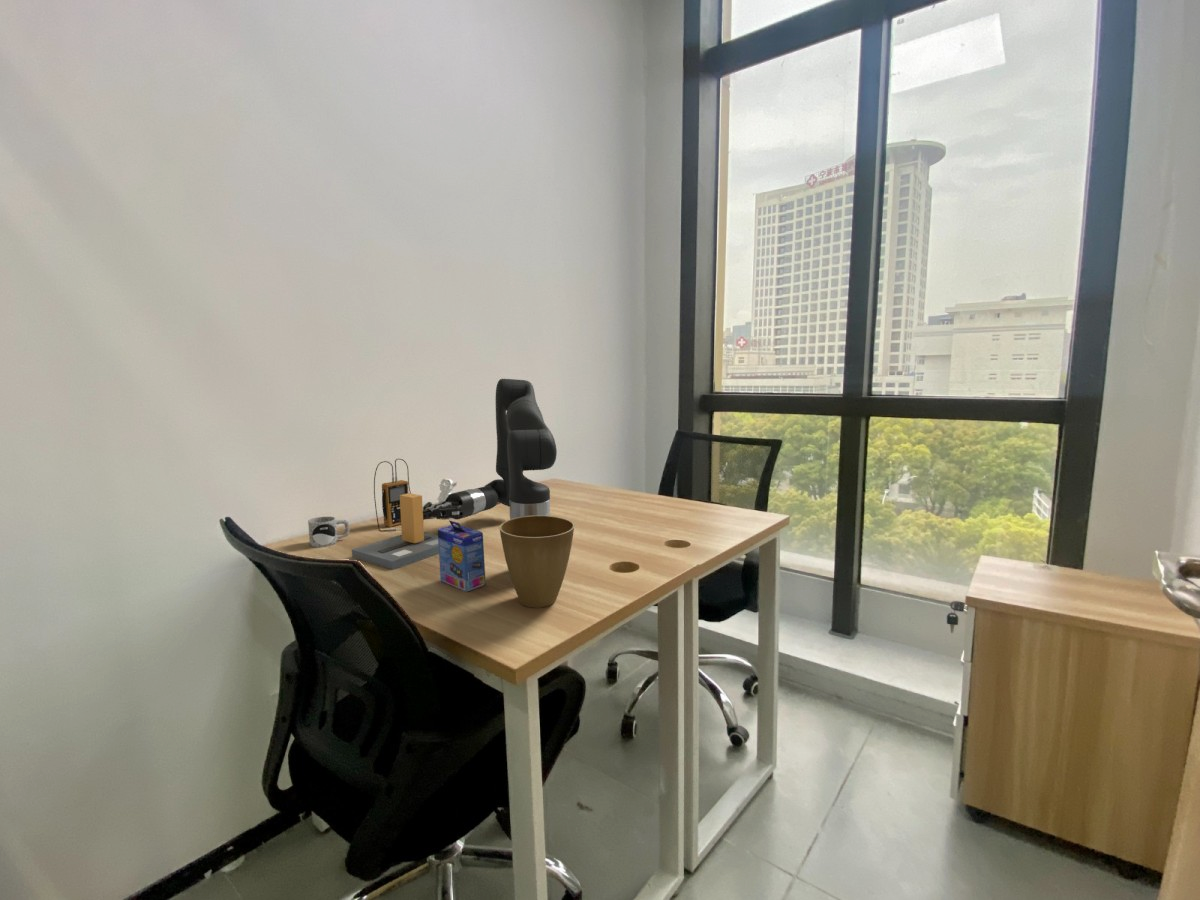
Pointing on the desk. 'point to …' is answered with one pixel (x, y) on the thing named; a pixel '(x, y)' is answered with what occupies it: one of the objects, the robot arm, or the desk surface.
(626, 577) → the desk surface
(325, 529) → the mug
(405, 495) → the switch tab
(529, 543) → the plant pot
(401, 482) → the multimeter
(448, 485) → the white creature statuette
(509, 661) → the desk surface
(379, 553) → the switch panel
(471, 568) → the ink cartridge box
